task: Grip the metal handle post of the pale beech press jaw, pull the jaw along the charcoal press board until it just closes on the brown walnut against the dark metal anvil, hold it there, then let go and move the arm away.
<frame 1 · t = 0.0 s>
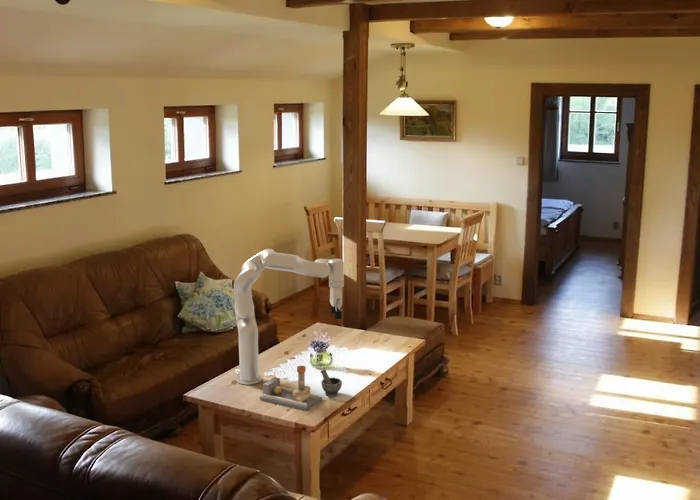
hand: (336, 315, 401), 31 cm above the table, tool pointing down, fingers open, 9 cm apart
nut press base: (291, 400, 374), on the table
mortar and pestle: (330, 394, 381), on the table
press jaw: (301, 383, 370), point 10 cm above the table, slide at 0.0 cm
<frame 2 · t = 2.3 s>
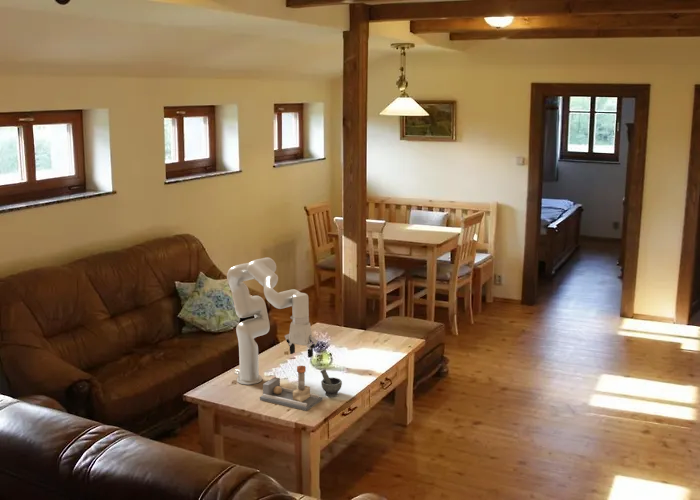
hand: (301, 355, 366), 24 cm above the table, tool pointing down, fingers open, 9 cm apart
nothing on the table moved.
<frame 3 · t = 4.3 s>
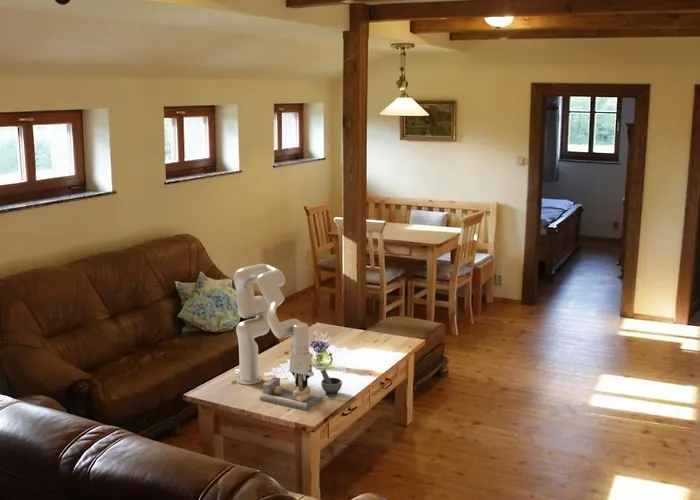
hand: (301, 386, 370), 8 cm above the table, tool pointing down, fingers closed on press jaw, 3 cm apart
press jaw: (301, 383, 370), point 10 cm above the table, slide at 0.0 cm, touching gripper
everything else where it was.
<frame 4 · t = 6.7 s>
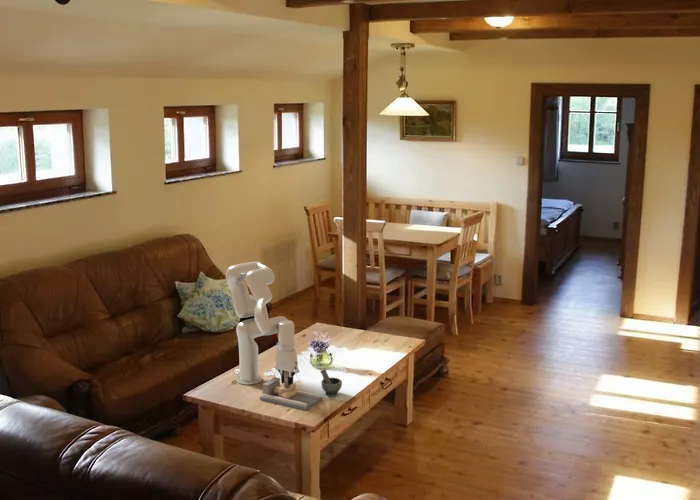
hand: (287, 383, 374), 8 cm above the table, tool pointing down, fingers closed on press jaw, 3 cm apart
press jaw: (287, 380, 373), point 10 cm above the table, slide at 8.0 cm, touching gripper
everything else where it was.
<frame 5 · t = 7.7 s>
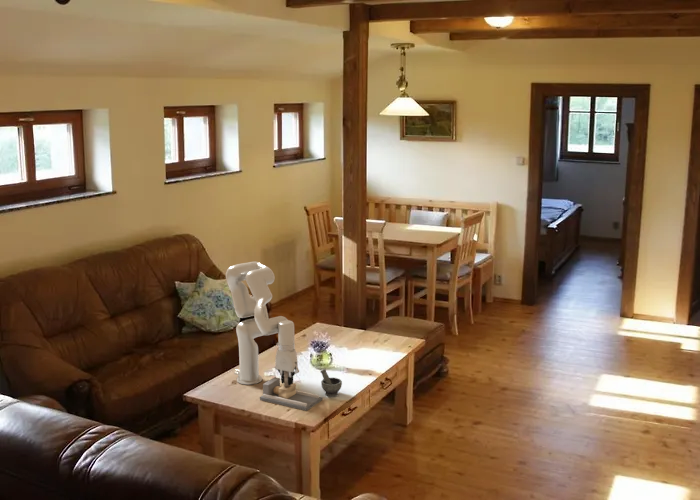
hand: (287, 383, 374), 8 cm above the table, tool pointing down, fingers closed on press jaw, 3 cm apart
press jaw: (287, 380, 373), point 10 cm above the table, slide at 8.0 cm, touching gripper
everything else where it was.
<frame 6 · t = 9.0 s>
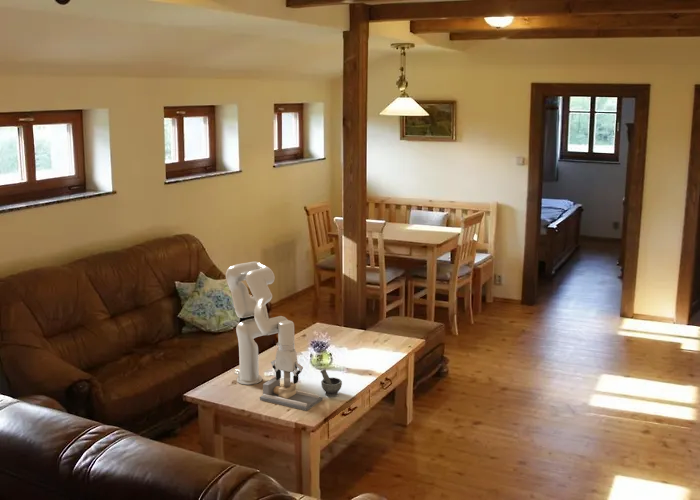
hand: (287, 380, 373), 9 cm above the table, tool pointing down, fingers open, 9 cm apart
press jaw: (287, 380, 373), point 10 cm above the table, slide at 8.0 cm
everything else where it was.
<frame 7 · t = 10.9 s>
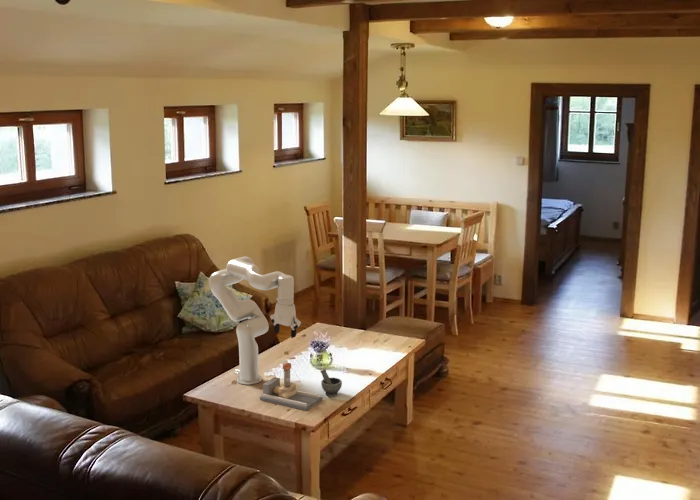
hand: (285, 335, 378), 29 cm above the table, tool pointing down, fingers open, 9 cm apart
nothing on the table moved.
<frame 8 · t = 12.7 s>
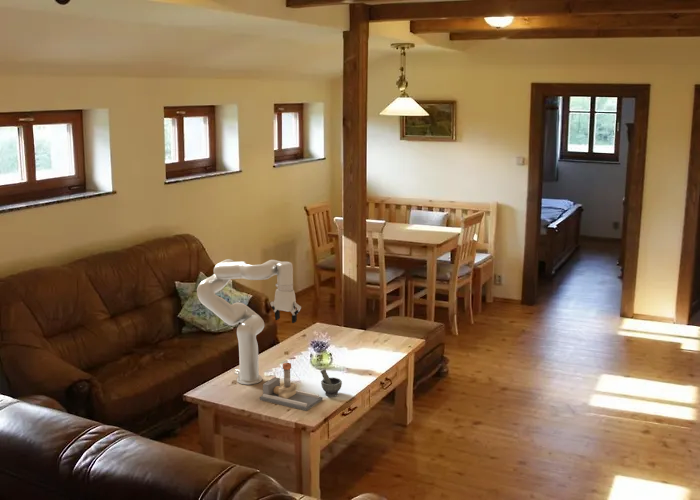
hand: (285, 320, 386), 33 cm above the table, tool pointing down, fingers open, 9 cm apart
nothing on the table moved.
at the end: press jaw slide at 8.0 cm; the gripper is holding nothing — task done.
